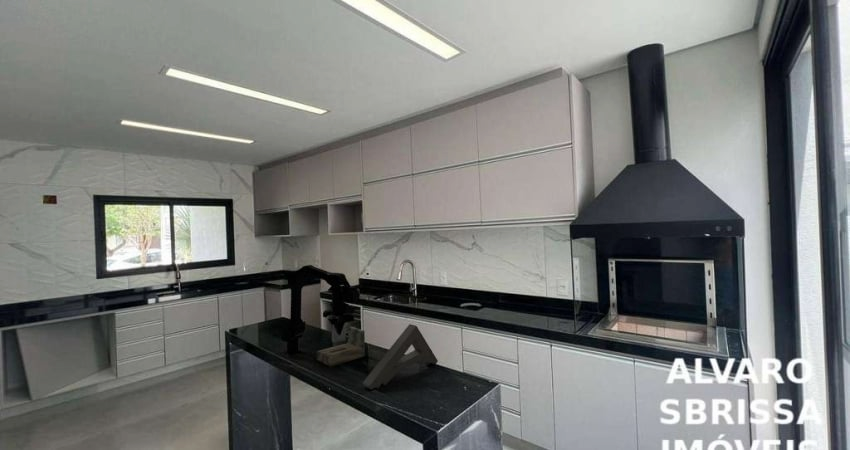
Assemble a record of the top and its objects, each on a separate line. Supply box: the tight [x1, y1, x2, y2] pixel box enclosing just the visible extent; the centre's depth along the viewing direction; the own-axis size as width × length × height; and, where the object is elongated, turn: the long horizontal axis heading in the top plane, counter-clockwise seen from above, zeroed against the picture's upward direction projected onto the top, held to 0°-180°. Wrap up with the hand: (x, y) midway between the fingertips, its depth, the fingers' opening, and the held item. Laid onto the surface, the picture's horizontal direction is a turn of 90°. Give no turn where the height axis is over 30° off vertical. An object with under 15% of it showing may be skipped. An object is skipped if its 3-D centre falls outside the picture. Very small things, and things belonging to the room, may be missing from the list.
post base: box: [316, 325, 366, 368], centre depth 161 cm, size 12×18×12 cm, turn 135°
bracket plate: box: [331, 323, 346, 343], centre depth 161 cm, size 2×6×8 cm, turn 135°
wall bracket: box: [361, 323, 439, 391], centre depth 141 cm, size 22×4×30 cm
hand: (338, 334), depth 161 cm, fingers closed on bracket plate, 2 cm apart
